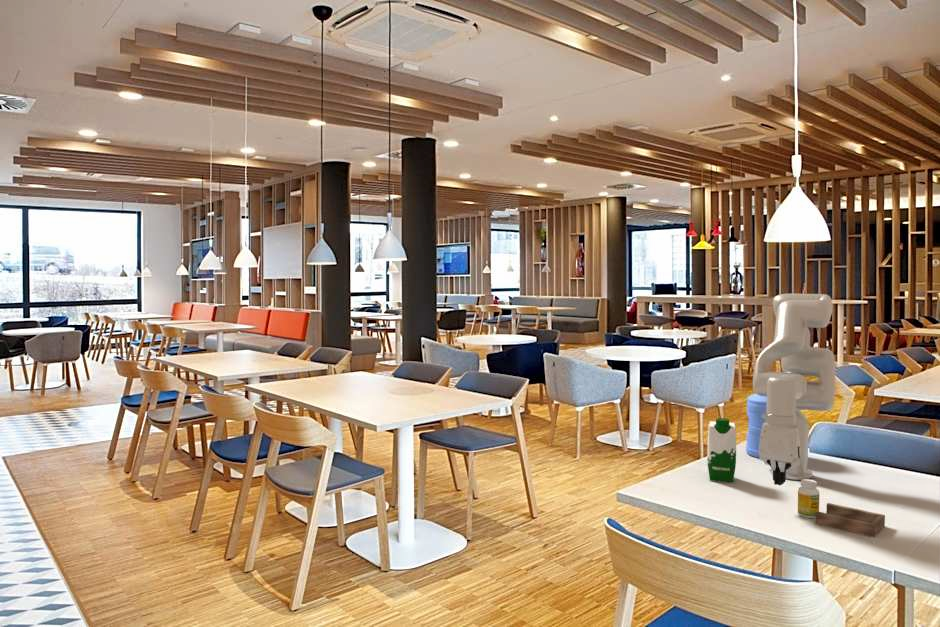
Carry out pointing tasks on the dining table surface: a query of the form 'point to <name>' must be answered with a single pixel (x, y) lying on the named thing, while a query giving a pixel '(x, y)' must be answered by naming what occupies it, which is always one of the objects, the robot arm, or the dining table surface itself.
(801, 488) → the supplement bottle
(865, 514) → the u rest
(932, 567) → the dining table surface
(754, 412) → the water jug
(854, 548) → the dining table surface
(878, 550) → the dining table surface
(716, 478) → the milk carton
